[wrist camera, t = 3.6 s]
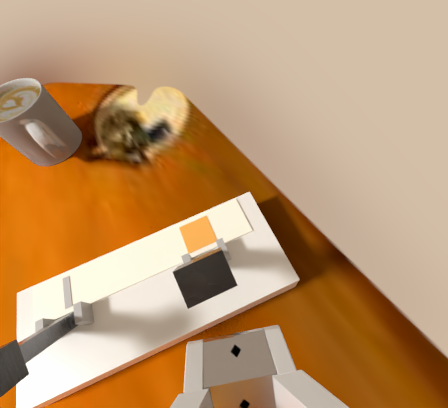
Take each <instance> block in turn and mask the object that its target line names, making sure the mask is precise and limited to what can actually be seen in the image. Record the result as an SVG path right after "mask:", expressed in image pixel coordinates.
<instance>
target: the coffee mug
mask: <svg viewBox="0 0 448 408" xmlns="http://www.w3.org/2000/svg"><path fill="white" fill-rule="evenodd" d="M0 137H1V138H3V139H4V140H5V141H7V142H8V143H9V144H10V145H12V146H13V147H14V148H15V149H17V150H18V151H19V152H21V153H22V154H23V155H24V156H26V157H27V158H28V159H29V160H31V161H32V162H33V163H35V164H37V165H39V166H51V165H55V164H58V163H60V162H62V161H64V160H66V159H67V158H69V157H70V156H71V155H72V154H73V153H75V151H76V150H77V149H78V148H79V146H80V144H81V141H82V132H81V130H80V129H79V128H78V127H77V126H76V124H75V123H74V122H73V121H72V120H71V118H70V117H69V116H68V115H67V114H66V113H65V111H64V110H63V109H62V108H61V107H60V106H59V104H58V103H57V102H56V101H55V100H54V99H53V97H52V96H51V95H50V94H49V93H48V92H47V90H46V89H45V88H44V87H43V86H42V85H41V83H40V82H38V81H37V80H35V79H31V78H21V79H16V80H13V81H10V82H7V83H5V84H3V85H1V86H0Z"/></svg>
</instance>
